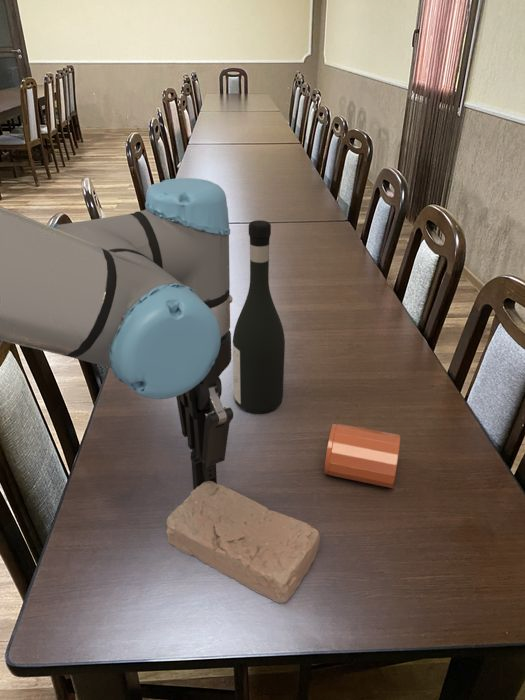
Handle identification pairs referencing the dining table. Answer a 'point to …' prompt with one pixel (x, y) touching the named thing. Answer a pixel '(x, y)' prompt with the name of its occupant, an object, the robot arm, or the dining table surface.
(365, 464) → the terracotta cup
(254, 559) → the brick
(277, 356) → the wine bottle
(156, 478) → the dining table surface
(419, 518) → the dining table surface
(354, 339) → the dining table surface
